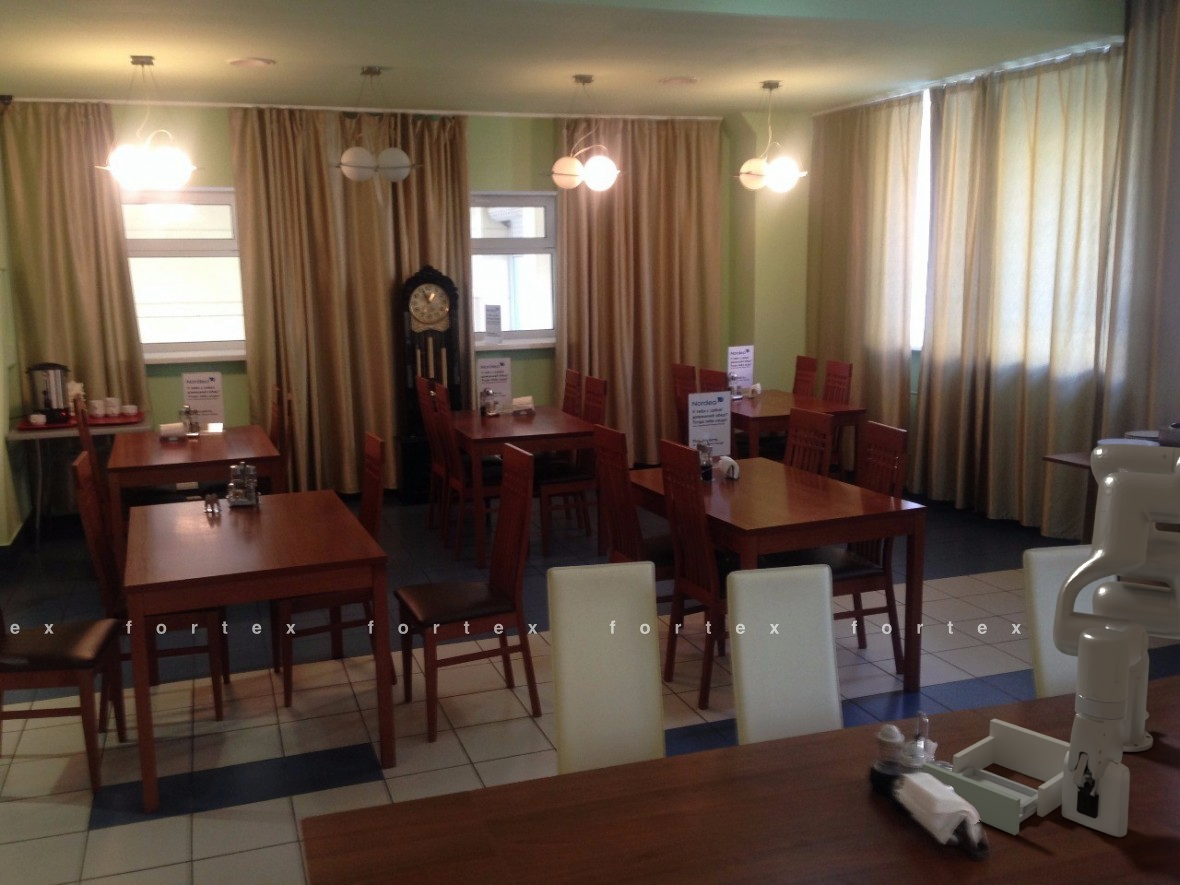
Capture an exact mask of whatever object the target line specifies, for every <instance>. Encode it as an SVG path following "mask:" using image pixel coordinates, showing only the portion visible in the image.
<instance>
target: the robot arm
mask: <svg viewBox="0 0 1180 885" xmlns="http://www.w3.org/2000/svg"><path fill="white" fill-rule="evenodd" d="M1090 454H1091V455H1090V468H1091V472H1092V476H1094V479H1095V481H1096V483H1097V486H1098V490H1097V499H1096V506H1095V513H1094V517H1095V518H1094V522H1093V523H1094V524H1093V534H1092V539H1091V540H1092V541H1091V550H1090V554H1089V556H1087V557H1086V559H1084V560H1083V561H1081V563H1079V564H1078V565H1076V566H1075V567H1074V568H1073V569H1072V570H1071V571H1070V573H1069V574H1068V575H1067V576H1066V577H1065V579H1064V580H1063V582H1062V583H1061V586H1060V588H1059V590H1058V594H1057V598H1056V604H1055V610H1054V612H1055V613H1054V618H1053V626H1052V641H1053V644H1054V647H1055V648H1056V650H1058V651H1059V653H1061V654H1064V655H1065V656H1071V657H1075V658H1076V657H1077V663H1076V664H1077V667H1076V683H1075V699H1074V700H1075V701H1074V711H1075V713H1076V714H1075V716H1074V719H1073V724H1072V727H1071V734H1070V740H1069V741H1070V742H1069V743H1070V748H1069V758H1068V769H1069V771H1071V772H1073V771H1075V770H1076V772H1075V775H1074V778H1073V783H1075V784H1076V785H1077V791H1078V795H1077V812H1078V813H1081V814H1083V815H1086V816H1089V817H1091V818H1094V819H1095V818H1097V817H1098V803H1099V795H1097V788H1098V782H1099V778H1101V777H1103V776H1104V773H1105V770H1106V768H1107V766H1108V764H1109V763H1110V761H1113V759H1115V760H1117V761H1119V762H1120V763H1122V759H1123V752H1125V753H1127V752H1128V753H1136V752H1138V753H1139V752H1143V751H1144V752H1145V751H1147V750H1149V749H1151V748H1152V747H1153V744H1154V738H1153V736H1152V735H1151V734H1150V733H1149V732H1148V731H1147V730H1145V727H1146V726H1145V725H1146V720H1147V719H1148V718H1149V717H1150V714H1149V712H1148V711H1147V698H1148V697H1147V696H1148V682H1149V669H1150V656H1149V652H1148V649H1149V644H1150V642H1149V639H1150V638H1149V636H1151V637H1156V638H1164V639H1171V640H1180V532H1177V531H1176V532H1175V531H1164V530H1158V529H1157V528H1156V523H1162V524H1171V525H1172V524H1173V525H1180V447H1177V446H1176V447H1174V446H1172V447H1171V446H1156V445H1144V444H1130V443H1107V444H1101V445H1098V446H1095V448H1093V450H1092V451H1091V453H1090ZM1111 576H1119V577H1124V578H1131V579H1136V580H1137V579H1138V580H1145V581H1146V580H1147V581H1152V582H1154V581H1155V582H1161V583H1165V584H1167V585H1168V586H1169V587H1165V586H1159V585H1158V586H1157V585H1149V584H1145V583H1144V584H1143V583H1138V582H1137V583H1136V582H1130V581H1129V582H1128V581H1106V582H1103V583H1100V584H1099V585H1098V586H1097V587H1096V588H1095V589H1094V591H1093V594H1092V600H1091V602H1092V613H1085V612H1081V611H1074V608H1075V603H1076V599H1077V598H1078V595H1079V594H1080V593H1081V591H1083V589H1085V588H1086V587H1087V586H1088V585H1090V584H1092V583H1094V582H1096V581H1098V580H1102V579H1104V578H1108V577H1111ZM1087 770H1088V771H1090V772H1092V774H1089V773H1087ZM1085 778H1088V779H1091V780H1092V785H1090V783H1089V782H1087V781H1086V780H1085Z"/></svg>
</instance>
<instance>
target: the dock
mask: <svg viewBox="0 0 1180 885" xmlns="http://www.w3.org/2000/svg"><path fill="white" fill-rule="evenodd" d="M1069 748H1070V742H1068V741H1064V740H1061V739H1059V738H1055V737H1052V736H1049V735H1046V734H1042V733H1041V732H1040V733H1039V732H1037V731H1034V730H1031V729H1029V728H1025V727H1021V726H1019V725H1016V724H1012V723H1010V722H1007V721H1004V720H1000V719H997V718H995V717H994V718H993V719H991V720H989V735H988V736H987V737H985V738H983V739H981V740H980V741H977V742H976V743H974V744H972V745H970V746H968V747H966V748H964V749H962V750H961V751H959V752H957V753H955V754H953V755H952V756H953V757H952V772H954V773H956V774H958V773H960V772H962V771H964V770H965V769H967V768H969V767H971V766H974V767H977V768H980V769H982V770H984V769H985V768H987V767H988V766H991V765H992V764H996V765H999V766H1000V767H1003V768H1007V769H1009V770H1012V771H1014V772H1017V773H1020V774H1022V775H1025V776H1028V777H1031V778H1034V779H1036V780H1039V781H1041V782H1044V783H1043V784H1041V785H1039V786H1038V787H1037V790H1038V803H1037V812H1036V815H1037V816H1039V817H1041V818H1043V817H1045V816H1046V815H1048V814H1049V813H1051V812H1053V811H1054V810H1055V809H1057V808H1058V807H1060V806H1062V792H1063V770H1064V759H1065V756H1066V754H1067V752H1068V751H1069Z"/></svg>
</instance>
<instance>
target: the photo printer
mask: <svg viewBox="0 0 1180 885" xmlns="http://www.w3.org/2000/svg"><path fill="white" fill-rule="evenodd" d="M1068 758H1069V751H1068V752H1067V754H1066V756H1065V759H1064V770H1063V792H1062V804H1061V815H1062V817H1064V818H1065V819H1066V820H1067V819H1068V820H1070V821H1072V822H1075V823H1077V824H1080V825H1083V826H1085V827H1088V828H1091V829H1094V830H1096V831H1099V832H1101V833H1104V834H1107V835H1110V836H1113V837H1118V838H1122V837H1125V836H1126V835H1127V834H1128V820H1129V819H1128V818H1129V801H1130V782H1131V772H1130V769H1129V767H1128V766H1127V765H1125V764H1123V763H1122V762H1121V763H1120V762H1119V761H1117V760H1115V759H1113V761H1110V763H1109V764H1108V766H1107V768H1106V770H1105V773H1104V776H1103V777H1101V778H1099V782H1098V788H1097V795H1099V803H1098V817H1097V818H1095V819H1094V818H1091V817H1089V816H1086V815H1083V814H1081V813H1078V812H1077V795H1078V791H1077V785H1076V784H1075V783H1073V778H1074V775H1075V772H1076V770H1075V771H1073V772H1071V771H1069V769H1068ZM1087 773H1089V774H1092V772H1090V771H1088V770H1087ZM1085 780H1086V781H1087V782H1089V783H1090V785H1092V780H1091V779H1088V778H1085Z"/></svg>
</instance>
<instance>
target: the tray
mask: <svg viewBox="0 0 1180 885" xmlns="http://www.w3.org/2000/svg"><path fill="white" fill-rule="evenodd" d="M922 768H923V770H922V771H924V772H926V773H929V774H931V775H933V776H935V777H936V778H937V779H939V780H941V781H942V782H943V783H945V784H947V785H950V786H952V787H953V788H954V790H955V792H956V793H957V794H958V795H959V796H961V797H962V798H964V799H965V800H966V801H968V802H969V803H970V804H972V805H973V806H974V807H975V808H976V810H977V811H978V813H979V815H980V818H981V821H980V822H982V823H985V824H987V825H989V826H992V827H994V828H997V829H999V830H1001V831H1004V832H1006V833H1009V834H1010V835H1013V836H1016V835H1018V834H1019V833H1020V824H1021V822H1023V821H1024V820H1026V819H1028V818H1029V817H1030V816H1032V815H1034V814H1035V813H1037V803H1038V789H1035V788H1033V787H1029V786H1028V785H1025V784H1022V783H1019V782H1017V781H1014V780H1011V779H1008V778H1007V777H1003V776H1000V775H998V774H995V773H993V772H991V771H990V772H989V771H988V770H984V769H980V768H977V767H974V766H971V767H969V768H967V769H965V770H964V771H962V772H960V773H958V774H956V773H954V772H953V771H950V770H949V769H946V768H943V767H940V766H938V765H936V764H933V763H930V762H928V763H926V762H924V763H922Z"/></svg>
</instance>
